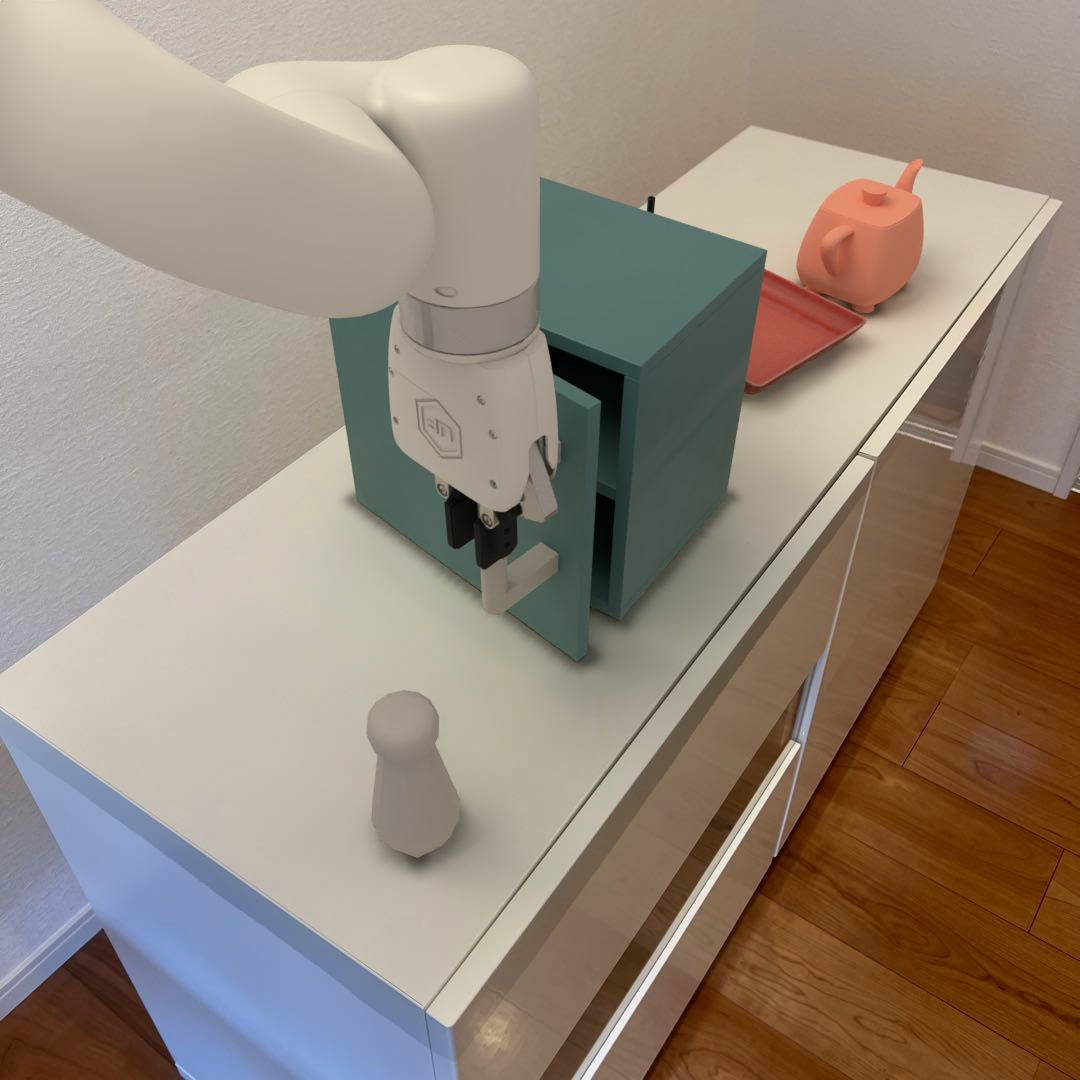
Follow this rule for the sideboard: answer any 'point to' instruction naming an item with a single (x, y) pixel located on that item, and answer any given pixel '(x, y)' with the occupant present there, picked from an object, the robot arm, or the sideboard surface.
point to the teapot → (864, 241)
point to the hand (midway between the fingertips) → (482, 545)
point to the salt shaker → (410, 775)
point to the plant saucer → (793, 330)
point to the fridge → (648, 370)
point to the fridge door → (419, 513)
